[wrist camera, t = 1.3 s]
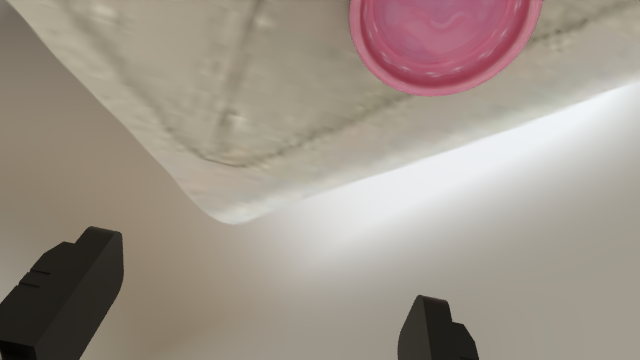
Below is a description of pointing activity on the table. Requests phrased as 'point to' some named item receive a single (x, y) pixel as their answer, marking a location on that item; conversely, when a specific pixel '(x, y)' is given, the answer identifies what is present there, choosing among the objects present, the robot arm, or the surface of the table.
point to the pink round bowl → (440, 40)
